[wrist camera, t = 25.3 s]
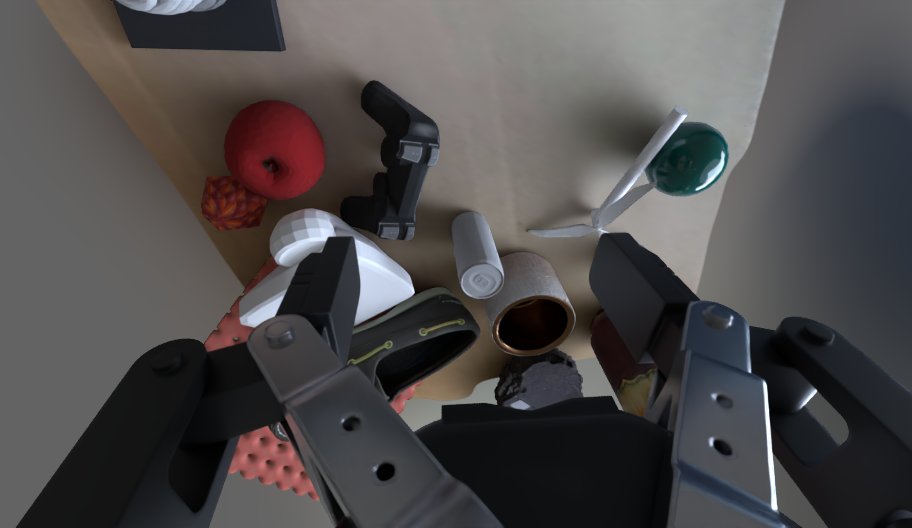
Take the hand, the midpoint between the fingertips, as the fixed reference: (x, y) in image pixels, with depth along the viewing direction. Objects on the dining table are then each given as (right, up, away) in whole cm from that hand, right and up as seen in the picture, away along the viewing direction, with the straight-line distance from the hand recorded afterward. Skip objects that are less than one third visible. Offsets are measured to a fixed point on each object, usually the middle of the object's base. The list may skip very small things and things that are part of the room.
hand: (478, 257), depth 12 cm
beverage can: (+1, +5, +36) cm, 37 cm away
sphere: (+24, +14, +32) cm, 43 cm away
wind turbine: (+21, +15, +23) cm, 34 cm away
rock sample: (+14, -20, +55) cm, 60 cm away
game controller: (-8, +12, +30) cm, 34 cm away
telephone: (-14, -5, +29) cm, 32 cm away
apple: (-19, +13, +28) cm, 36 cm away
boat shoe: (-13, -12, +39) cm, 43 cm away
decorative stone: (-25, +9, +31) cm, 41 cm away
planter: (+8, -3, +42) cm, 43 cm away
